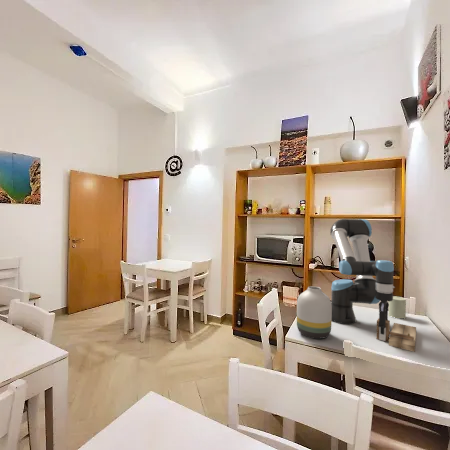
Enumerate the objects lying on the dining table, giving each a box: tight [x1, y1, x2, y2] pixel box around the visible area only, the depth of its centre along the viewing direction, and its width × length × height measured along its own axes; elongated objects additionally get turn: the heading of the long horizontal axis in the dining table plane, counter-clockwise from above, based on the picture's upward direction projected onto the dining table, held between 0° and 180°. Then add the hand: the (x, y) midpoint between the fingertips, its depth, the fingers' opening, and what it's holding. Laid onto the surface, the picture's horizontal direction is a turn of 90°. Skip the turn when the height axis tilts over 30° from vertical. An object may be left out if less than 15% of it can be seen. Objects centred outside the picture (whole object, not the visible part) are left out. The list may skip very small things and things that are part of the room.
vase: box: [296, 285, 333, 340], centre depth 135 cm, size 17×17×24 cm
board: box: [388, 322, 417, 352], centre depth 132 cm, size 10×28×3 cm, turn 143°
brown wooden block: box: [376, 317, 414, 343], centre depth 128 cm, size 15×5×9 cm, turn 52°
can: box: [388, 295, 407, 319], centre depth 164 cm, size 9×9×12 cm
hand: (383, 338), depth 131 cm, fingers closed on brown wooden block, 5 cm apart
